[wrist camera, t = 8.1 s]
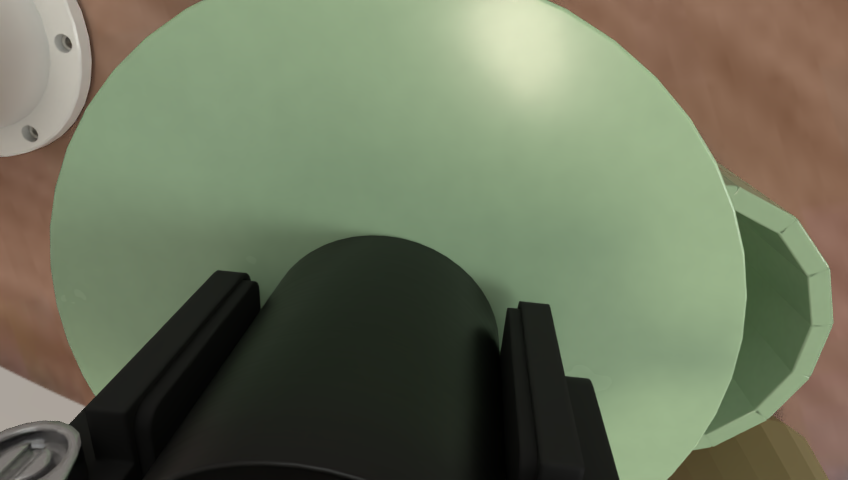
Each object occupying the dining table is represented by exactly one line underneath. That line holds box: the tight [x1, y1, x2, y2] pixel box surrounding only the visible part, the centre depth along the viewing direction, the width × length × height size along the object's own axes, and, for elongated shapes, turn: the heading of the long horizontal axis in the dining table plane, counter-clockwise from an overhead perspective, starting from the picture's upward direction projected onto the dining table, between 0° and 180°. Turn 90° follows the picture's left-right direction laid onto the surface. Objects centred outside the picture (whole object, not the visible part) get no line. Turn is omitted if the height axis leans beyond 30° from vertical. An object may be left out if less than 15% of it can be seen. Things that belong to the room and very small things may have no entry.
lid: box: [50, 0, 747, 480], centre depth 9 cm, size 14×14×7 cm
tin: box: [693, 162, 833, 450], centre depth 27 cm, size 13×13×10 cm
